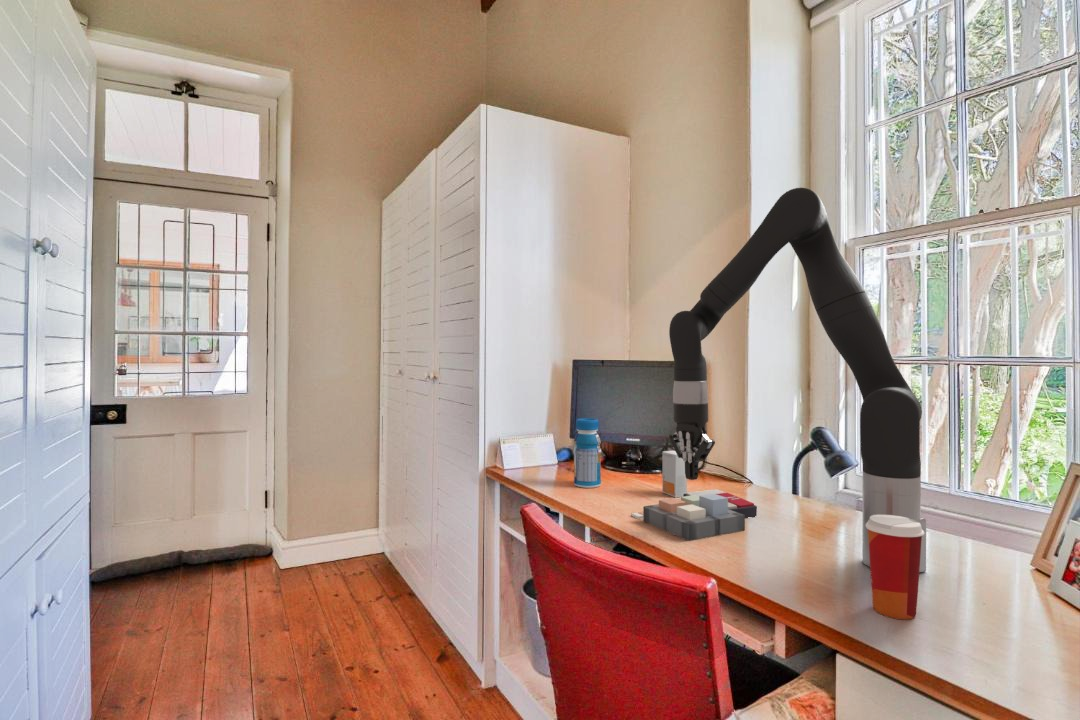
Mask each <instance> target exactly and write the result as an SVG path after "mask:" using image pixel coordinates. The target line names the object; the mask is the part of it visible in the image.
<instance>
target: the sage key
mask: <svg viewBox="0 0 1080 720" xmlns="http://www.w3.org/2000/svg"><path fill="white" fill-rule="evenodd" d="M680 500H681V501H684V502H686V505H691V504H693V505H695V506H698V507H699V496H697V495H691V496H684V497H680Z"/></svg>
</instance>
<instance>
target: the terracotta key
mask: <svg viewBox="0 0 1080 720" xmlns="http://www.w3.org/2000/svg"><path fill="white" fill-rule="evenodd" d="M658 504H659V509H662V510H665V511H667V512H670V513H673V512H677V507H678V506H685V505H686V502H684V501H681V499H678V498H675V497H671V498H663V499H659V500H658Z"/></svg>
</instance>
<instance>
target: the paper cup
mask: <svg viewBox="0 0 1080 720" xmlns="http://www.w3.org/2000/svg"><path fill="white" fill-rule="evenodd" d="M865 526H866V528H867V529H868V539H869V555H870V567H869V568H870V569H869V570H870V584H871V586H870V587H871V599H872V606H873V610H874V611H875V612H876V613H878V614H880V615H882V616H885V617H887V618H891V619H895V620H902V621H903V620H905V621H906V620H907V621H908V620H913V619H915V617H916V614H917V608H918V607H917V606H918V595H919V594H918V593H919V584H920V583H919V582H920V581H919V579H920V573H919V569H920V555H921V541H922V536H923V535H924V531H923V530H922V528H921V524H920V523H917V522H916V521H914V520H912V519H909V518H906V517H901V516H895V515H872V516H870V518H869V520H868V522H867V523H866V525H865Z"/></svg>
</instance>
